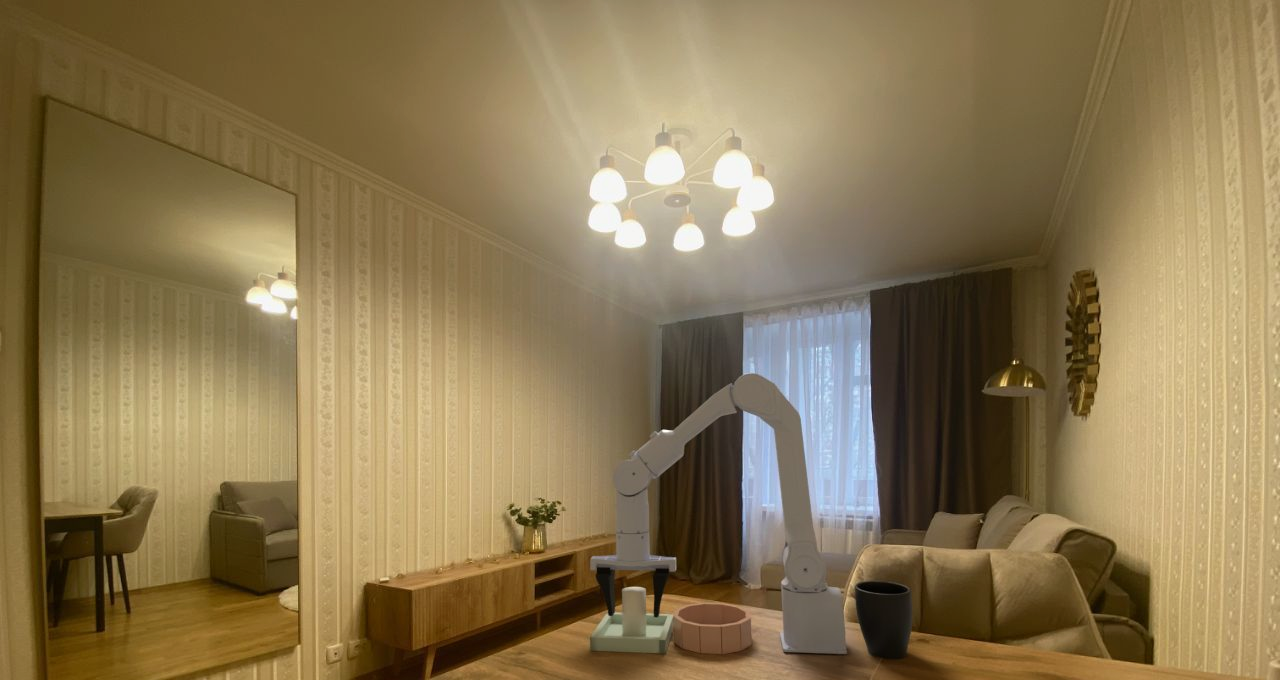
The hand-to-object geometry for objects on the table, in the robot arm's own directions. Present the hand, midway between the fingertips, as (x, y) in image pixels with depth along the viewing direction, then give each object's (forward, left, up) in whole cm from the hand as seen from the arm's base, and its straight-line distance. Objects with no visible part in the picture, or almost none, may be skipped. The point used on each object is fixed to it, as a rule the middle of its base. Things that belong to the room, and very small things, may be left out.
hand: (634, 614), depth 102 cm
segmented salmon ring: (-13, 0, -4) cm, 13 cm away
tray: (0, 0, -4) cm, 4 cm away
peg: (0, 0, -3) cm, 3 cm away
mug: (-40, 0, -4) cm, 40 cm away
